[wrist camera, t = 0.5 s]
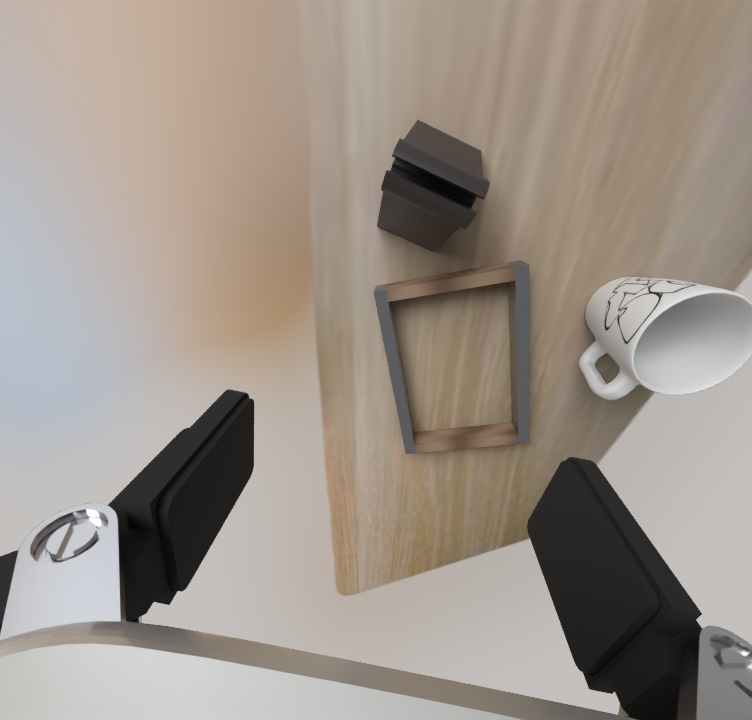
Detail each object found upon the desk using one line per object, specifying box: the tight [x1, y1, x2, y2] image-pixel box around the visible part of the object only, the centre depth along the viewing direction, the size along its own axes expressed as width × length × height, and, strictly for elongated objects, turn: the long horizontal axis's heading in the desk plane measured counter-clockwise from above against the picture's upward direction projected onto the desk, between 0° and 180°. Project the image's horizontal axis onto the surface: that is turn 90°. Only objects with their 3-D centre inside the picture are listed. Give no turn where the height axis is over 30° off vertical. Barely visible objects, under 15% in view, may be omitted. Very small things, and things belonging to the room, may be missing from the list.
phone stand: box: [377, 120, 489, 251], centre depth 25 cm, size 9×6×12 cm, turn 157°
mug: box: [579, 277, 752, 400], centre depth 29 cm, size 11×8×10 cm
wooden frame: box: [374, 261, 529, 454], centre depth 36 cm, size 14×20×2 cm
